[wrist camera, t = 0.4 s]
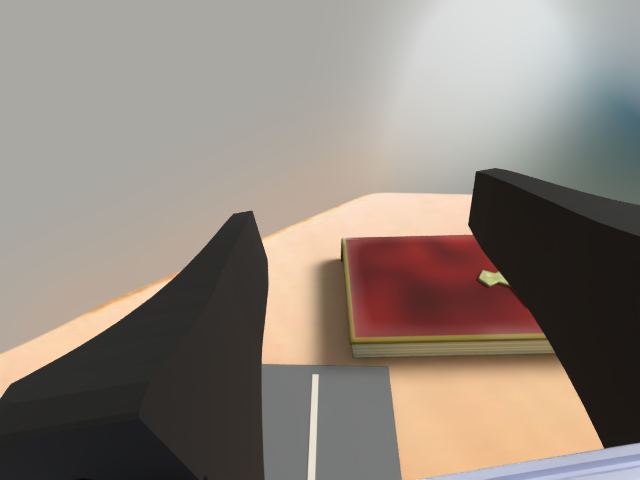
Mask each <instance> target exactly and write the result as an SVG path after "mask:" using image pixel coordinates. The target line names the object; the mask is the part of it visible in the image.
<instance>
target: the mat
mask: <svg viewBox="0 0 640 480" xmlns="http://www.w3.org/2000/svg"><path fill="white" fill-rule="evenodd" d="M262 427H263V456H264V476H265V480H402V478H401V470H400V461H399V453H398V444H397V436H396V428H395V419H394V411H393V402H392V394H391V385H390V377H389V369H388V367H381V366H331V365H280V364H262Z"/></svg>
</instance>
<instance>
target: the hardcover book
mask: <svg viewBox="0 0 640 480" xmlns="http://www.w3.org/2000/svg"><path fill="white" fill-rule="evenodd" d="M341 262H344V274H345V286H346V298H347V310H348V322H349V334H350V345H352V352H353V358H369V357H414V356H460V355H505V354H550V353H555V352H554V350H553V348H552V347H551V345H550V343H549V341H548V340H547V338H546V336H545V335H544V333H543V332H542V330H541V328H540V327H539V325H538V324H537V322H536V320H535V319H534V317H533V316H532V314H531V312H530V311H529V310H528V308H527V307H526V305H525V304H524V303H523V301H522V300H521V299H520V297H519V296H518V295H517V294H516V292H515V291H514V290H513V289H512V287H511V286H510V285H509V284H508V282H507V281H506V280H505V279H504V277H503V276H502V275H501V274H500V272H499V271H498V270H497V268H496V267H495V266H494V265H493V263H492V262H491V261H490V260H489V258H488V257H487V256H486V254H485V253H484V252H483V250H482V249H481V247H480V246H479V244H478V242H477V241H476V239H475V237H474V235H447V236H406V237H365V238H342V240H341Z"/></svg>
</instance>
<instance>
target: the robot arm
mask: <svg viewBox="0 0 640 480" xmlns="http://www.w3.org/2000/svg"><path fill="white" fill-rule="evenodd" d="M468 226H469V227H470V229H471V231H472V233H473V235H474V237H475V239H476V241H477V242H478V244H479V246H480V247H481V249H482V250H483V252H484V253H485V254H486V256H487V257H488V258H489V260H490V261H491V262H492V263H493V265H494V266H495V267H496V268H497V270H498V271H499V272H500V274H501V275H502V276H503V277H504V279H505V280H506V281H507V282H508V284H509V285H510V286H511V287H512V289H513V290H514V291H515V292H516V294H517V295H518V296H519V297H520V299H521V300H522V301H523V303H524V304H525V305H526V307H527V308H528V310H529V311H530V312H531V314H532V316H533V317H534V319H535V320H536V322H537V324H538V325H539V327H540V328H541V330H542V332H543V333H544V335H545V336H546V338H547V340H548V341H549V343H550V345H551V347H552V348H553V350H554V352H555V354H556V355H557V357H558V359H559V360H560V362H561V364H562V366H563V367H564V369H565V371H566V373H567V375H568V377H569V379H570V380H571V382H572V384H573V386H574V388H575V390H576V392H577V394H578V396H579V397H580V399H581V401H582V403H583V405H584V407H585V409H586V411H587V413H588V415H589V417H590V420H591V422H592V424H593V426H594V428H595V430H596V432H597V434H598V436H599V438H600V440H601V442H602V445H603V447H604V449H600V450H594V451H588V452H582V453H576V454H570V455H564V456H557V457H551V458H545V459H539V460H533V461H527V462H521V463H515V464H509V465H503V466H497V467H491V468H485V469H479V470H473V471H467V472H461V473H455V474H449V475H443V476H437V477H431V478H425V479H419V480H640V205H636V204H631V203H625V202H621V201H617V200H612V199H608V198H604V197H600V196H596V195H592V194H588V193H584V192H581V191H577V190H574V189H570V188H566V187H563V186H560V185H556V184H553V183H549V182H546V181H543V180H539V179H536V178H533V177H529V176H526V175H523V174H519V173H515V172H512V171H508V170H503V169H497V168H494V169H488V170H482V171H477V172H476V175H475V183H474V189H473V196H472V202H471V209H470V216H469V223H468ZM267 296H268V260H267V256H266V253H265V250H264V247H263V243H262V240H261V237H260V234H259V231H258V227H257V224H256V221H255V218H254V215H253V211H247V212H241V213H236V214H233V215H232V216H231V217H230V218H229V219H228V221H226V223H225V224H224V225H223V226H222V227H221V229H220V230H219V231H218V232H217V233H216V235H215V236H214V237H213V238H212V239H211V240H210V241H209V243H208V244H207V245H206V246H205V247H204V248H203V249H202V250H201V252H200V253H199V254H198V255H197V256H196V257H195V258H194V259H193V260H192V261H191V262H190V263H189V264H188V265H187V266H186V267H185V268H184V269H183V270H182V271H181V272H180V273H179V274H178V275H177V276H176V277H175V278H174V279H172V280H171V281H170V282H169V283H168V284H167V285H166V286H164V287H163V288H162V289H161V290H160V291H158V292H157V293H156V294H155V295H154V296H152V297H151V298H150V299H149V300H147V301H146V302H144V303H143V304H142V305H140V306H139V307H138V308H136V309H135V310H134V311H132V312H131V313H130V314H128V315H127V316H125V317H124V318H123V319H121V320H120V321H118V322H117V323H116V324H114V325H113V326H111V327H109V328H108V329H106V330H105V331H103V332H102V333H100V334H99V335H97V336H95V337H94V338H92V339H91V340H89V341H87V342H86V343H84V344H83V345H81V346H79V347H78V348H76V349H74V350H72V351H71V352H69V353H67V354H66V355H64V356H62V357H60V358H58V359H56V360H55V361H53V362H51V363H49V364H47V365H46V366H44V367H42V368H40V369H38V370H36V371H35V372H33V373H31V374H29V375H27V376H25V377H24V378H22V379H20V380H18V381H16V382H14V383H12V384H11V385H10V386H9V387H8V388H7V390H6V391H5V393H4V394H3V396H2V397H1V398H0V480H265V476H264V456H263V427H262V343H263V334H264V325H265V315H266V306H267Z"/></svg>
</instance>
